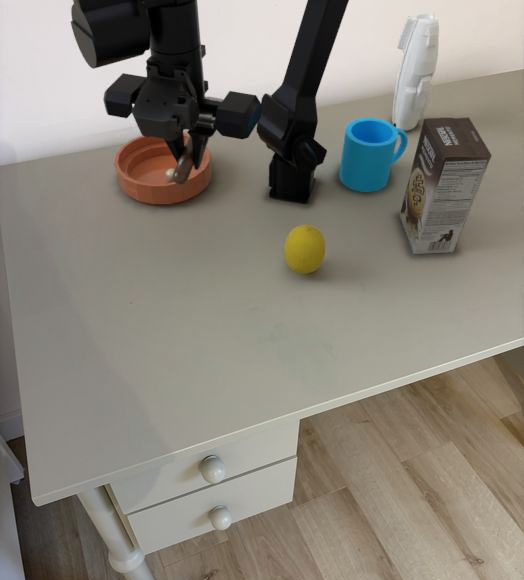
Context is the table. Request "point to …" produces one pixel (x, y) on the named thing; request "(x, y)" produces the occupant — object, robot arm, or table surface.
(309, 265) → the lemon
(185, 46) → the robot arm
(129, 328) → the table surface
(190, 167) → the brown sausage
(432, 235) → the coffee box
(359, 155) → the mug
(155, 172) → the bowl
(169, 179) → the bead
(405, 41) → the white tall rounded piece
